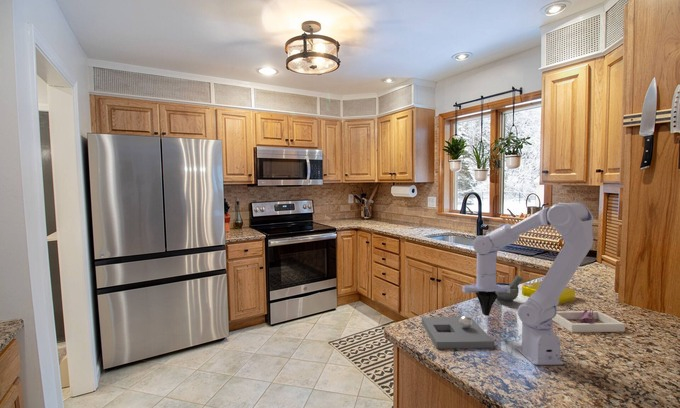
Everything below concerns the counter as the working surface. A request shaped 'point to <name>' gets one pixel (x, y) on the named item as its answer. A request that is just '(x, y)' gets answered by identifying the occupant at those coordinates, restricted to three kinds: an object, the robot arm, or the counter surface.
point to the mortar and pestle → (509, 297)
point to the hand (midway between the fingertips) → (485, 314)
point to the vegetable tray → (607, 326)
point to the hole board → (455, 333)
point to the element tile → (565, 296)
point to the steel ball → (465, 322)
